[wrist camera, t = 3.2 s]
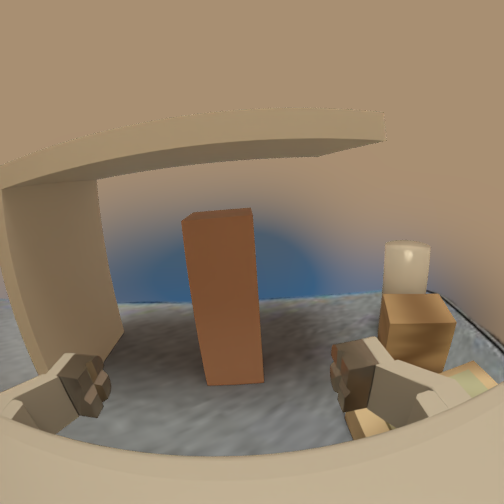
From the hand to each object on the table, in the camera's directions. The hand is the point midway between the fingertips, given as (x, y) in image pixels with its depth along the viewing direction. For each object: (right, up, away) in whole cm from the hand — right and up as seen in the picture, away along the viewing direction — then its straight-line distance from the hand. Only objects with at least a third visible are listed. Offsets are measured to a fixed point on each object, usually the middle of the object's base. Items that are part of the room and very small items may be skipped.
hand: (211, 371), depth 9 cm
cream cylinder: (+16, -4, +17) cm, 23 cm away
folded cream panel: (-3, -6, +14) cm, 16 cm away
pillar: (0, -6, +14) cm, 16 cm away
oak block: (+14, -6, +11) cm, 19 cm away
